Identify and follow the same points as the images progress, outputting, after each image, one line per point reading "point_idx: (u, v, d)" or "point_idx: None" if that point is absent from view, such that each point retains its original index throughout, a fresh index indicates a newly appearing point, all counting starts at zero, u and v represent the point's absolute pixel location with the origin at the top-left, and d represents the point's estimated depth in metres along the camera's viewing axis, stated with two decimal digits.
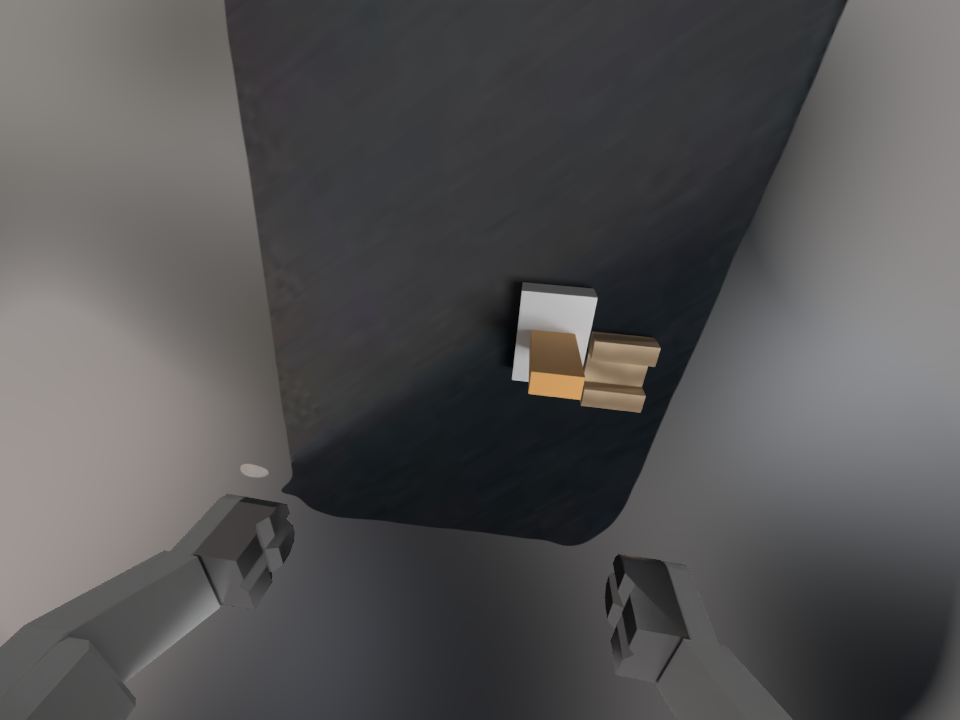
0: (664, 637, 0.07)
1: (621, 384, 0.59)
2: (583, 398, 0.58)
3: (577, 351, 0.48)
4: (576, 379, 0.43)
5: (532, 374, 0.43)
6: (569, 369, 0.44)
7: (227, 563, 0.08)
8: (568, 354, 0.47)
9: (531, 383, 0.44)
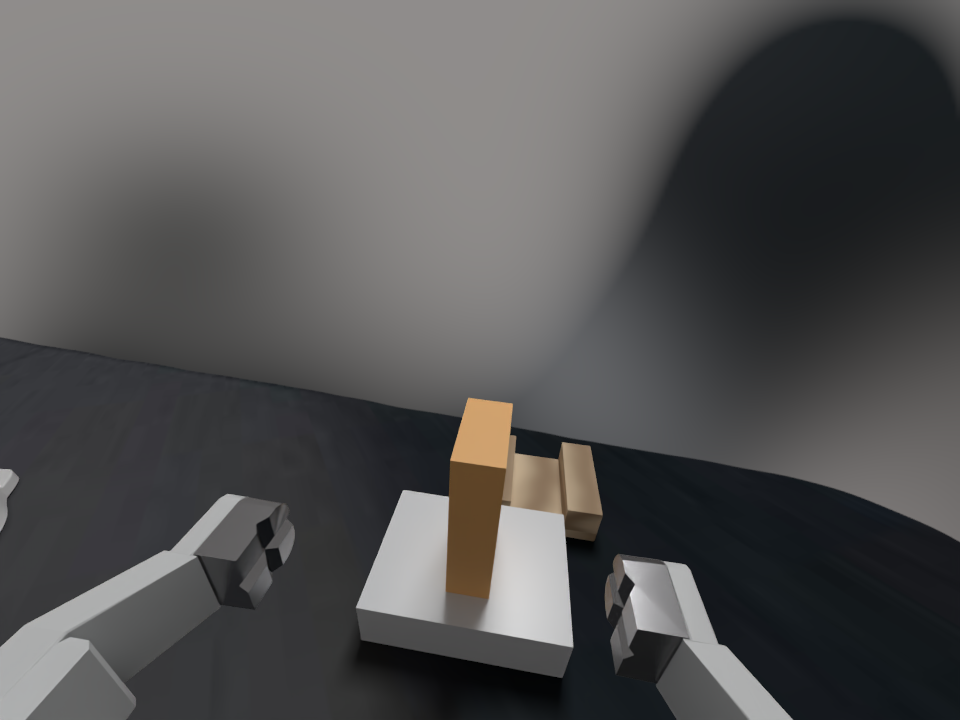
0: (664, 637, 0.07)
1: (558, 479, 0.40)
2: (586, 511, 0.33)
3: None
4: (472, 406, 0.25)
5: (457, 459, 0.21)
6: None
7: (227, 563, 0.08)
8: None
9: (479, 462, 0.20)
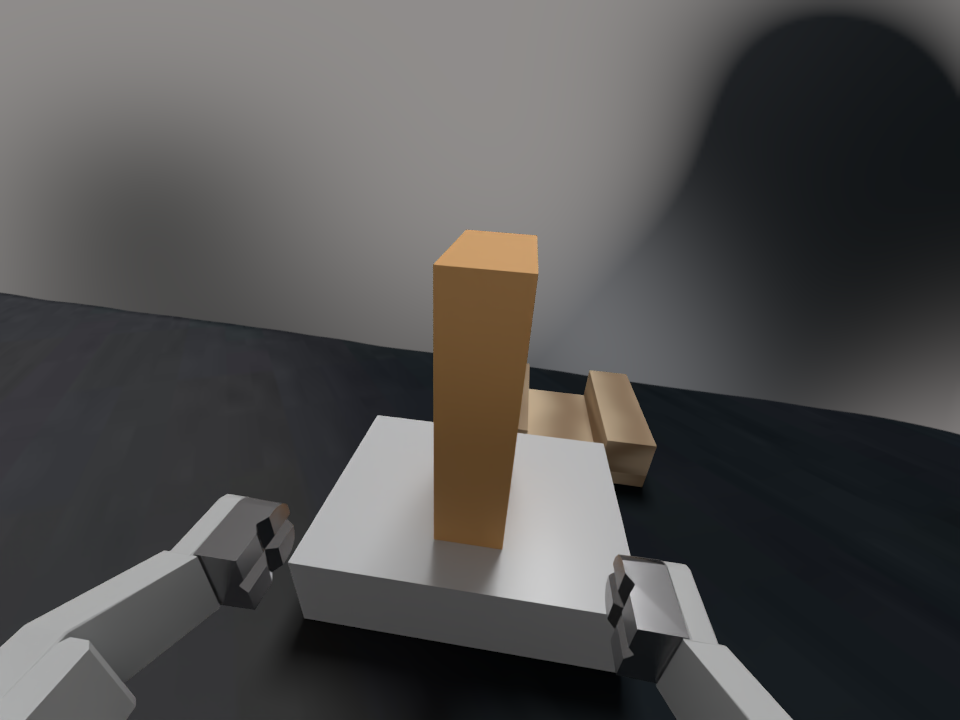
0: (664, 637, 0.07)
1: (586, 415, 0.30)
2: (633, 442, 0.24)
3: None
4: (473, 234, 0.15)
5: (446, 264, 0.11)
6: None
7: (227, 563, 0.08)
8: None
9: (487, 267, 0.11)
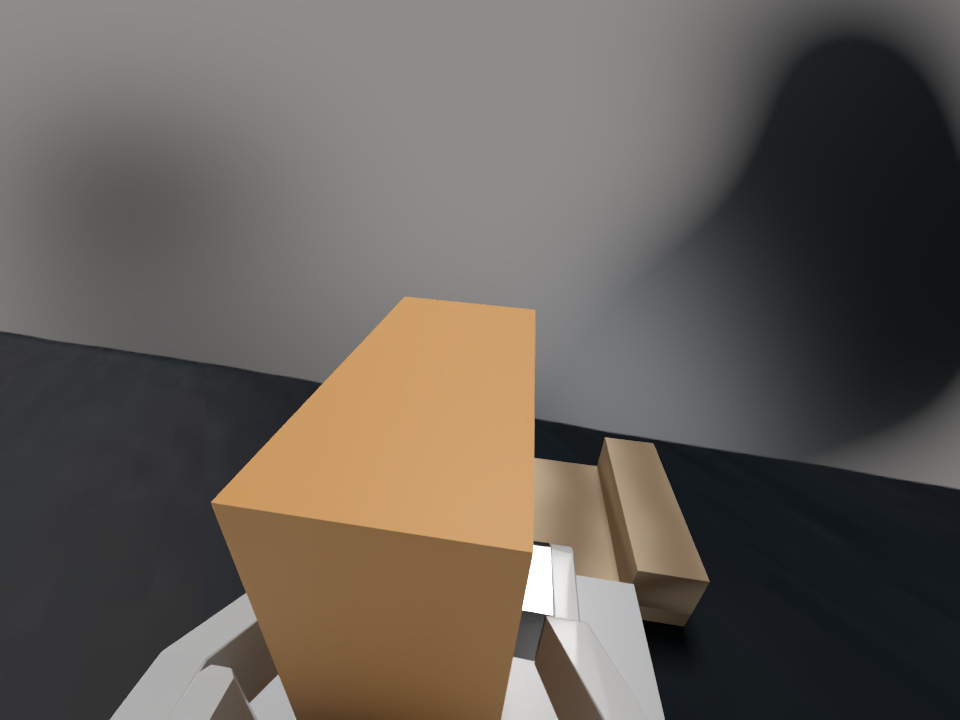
0: (531, 614, 0.07)
1: (602, 502, 0.23)
2: (676, 573, 0.17)
3: None
4: (412, 311, 0.08)
5: (257, 494, 0.04)
6: None
7: None
8: None
9: (379, 510, 0.04)
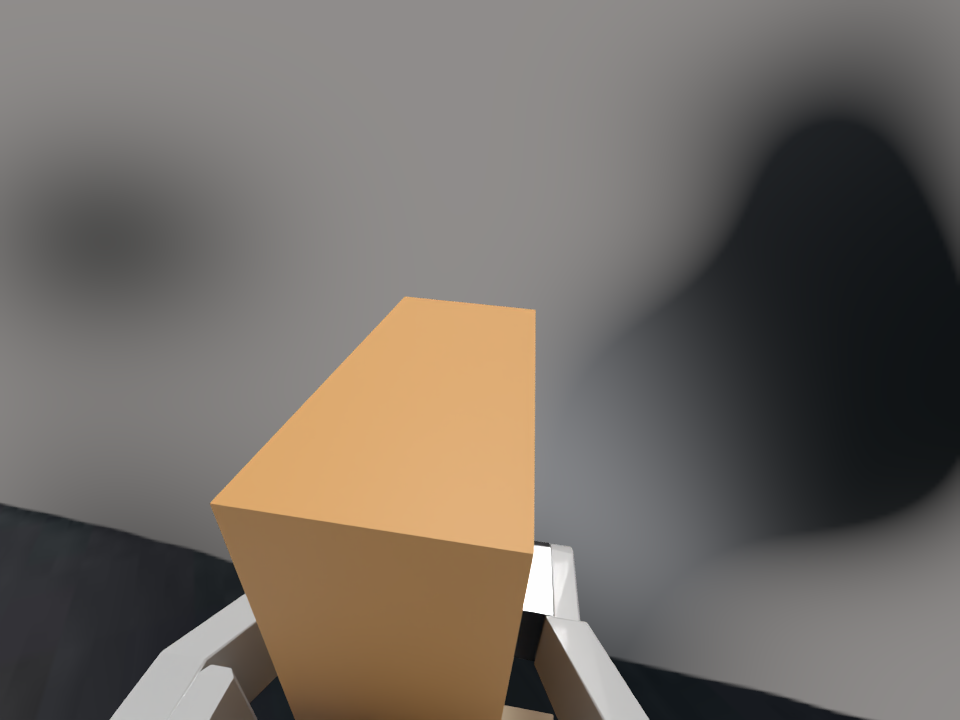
0: (531, 614, 0.07)
1: None
2: None
3: None
4: (412, 311, 0.08)
5: (257, 495, 0.04)
6: None
7: None
8: None
9: (379, 511, 0.04)
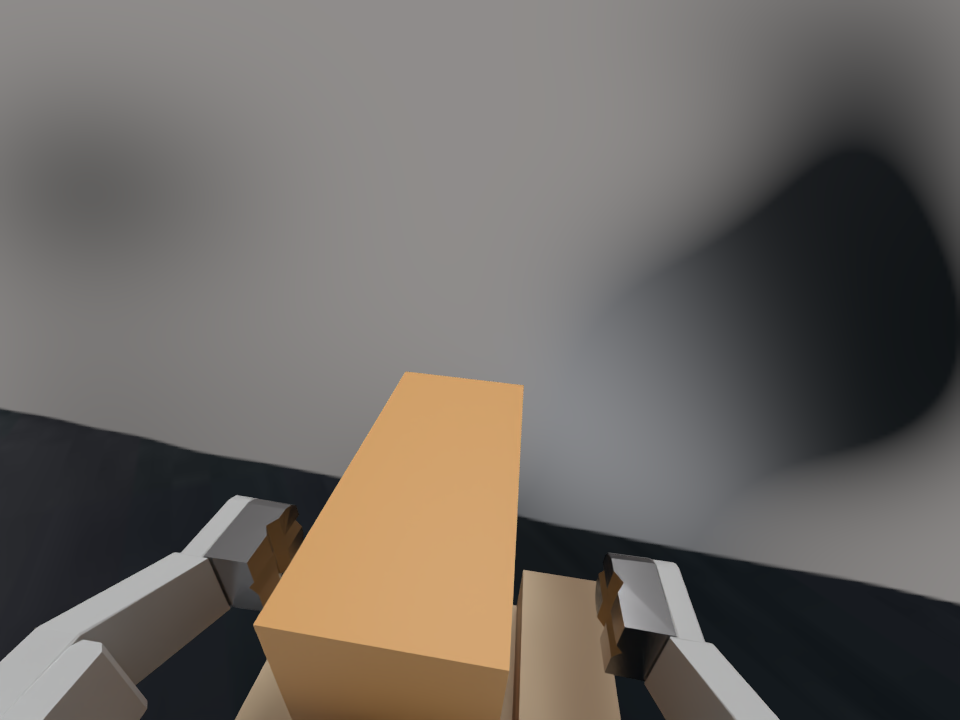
0: (651, 635, 0.07)
1: (509, 693, 0.14)
2: None
3: None
4: (412, 391, 0.09)
5: (289, 615, 0.05)
6: None
7: (238, 565, 0.08)
8: None
9: (387, 629, 0.04)
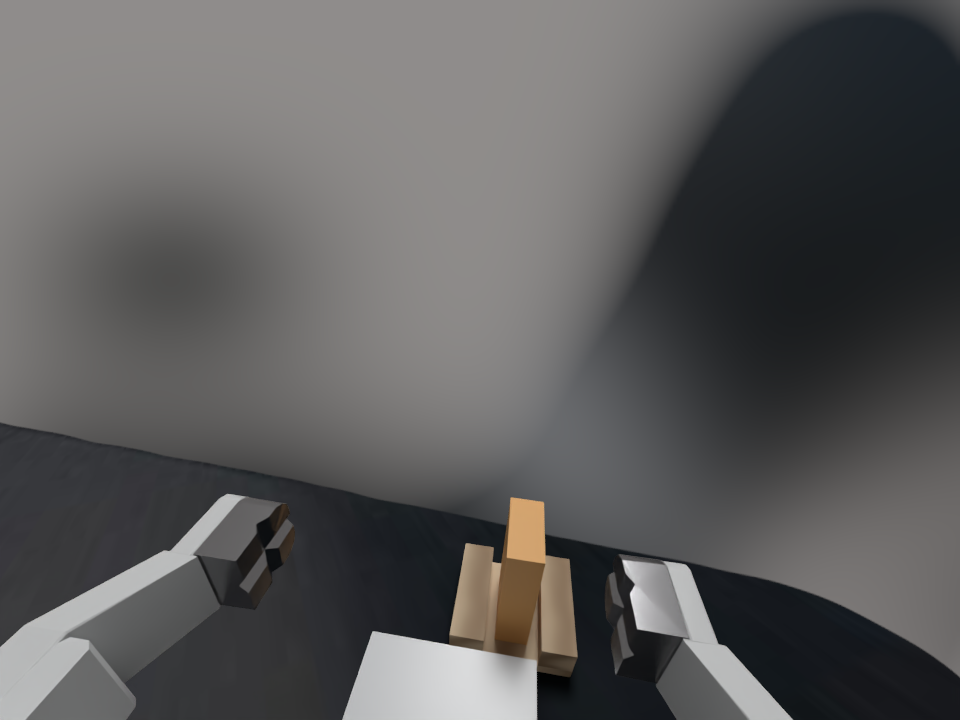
0: (664, 637, 0.07)
1: None
2: (561, 652, 0.33)
3: (504, 545, 0.38)
4: (515, 505, 0.34)
5: (511, 556, 0.30)
6: (508, 523, 0.34)
7: (227, 563, 0.08)
8: (504, 548, 0.36)
9: (526, 558, 0.30)
